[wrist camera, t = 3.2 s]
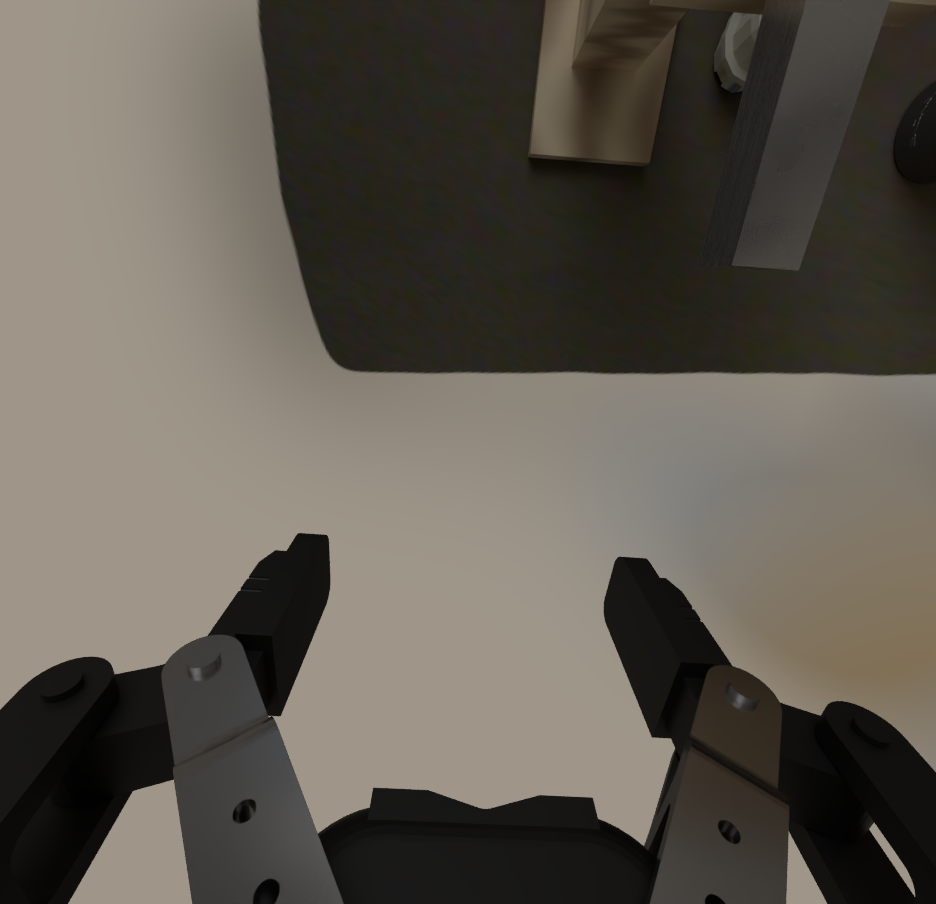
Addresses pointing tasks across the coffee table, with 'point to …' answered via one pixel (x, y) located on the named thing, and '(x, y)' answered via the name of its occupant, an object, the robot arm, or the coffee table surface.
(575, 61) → the birch stand
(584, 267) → the coffee table surface
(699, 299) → the coffee table surface
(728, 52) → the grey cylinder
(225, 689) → the robot arm
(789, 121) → the grey long bar
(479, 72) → the coffee table surface
